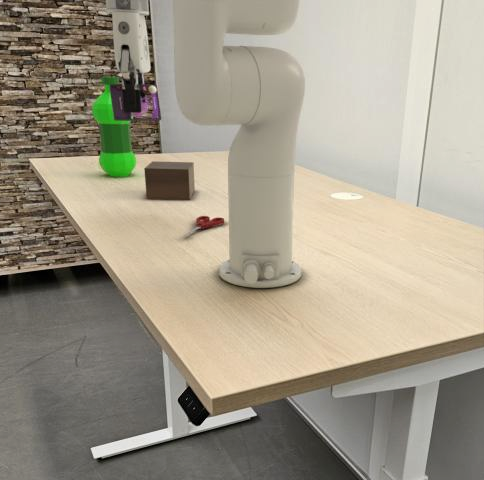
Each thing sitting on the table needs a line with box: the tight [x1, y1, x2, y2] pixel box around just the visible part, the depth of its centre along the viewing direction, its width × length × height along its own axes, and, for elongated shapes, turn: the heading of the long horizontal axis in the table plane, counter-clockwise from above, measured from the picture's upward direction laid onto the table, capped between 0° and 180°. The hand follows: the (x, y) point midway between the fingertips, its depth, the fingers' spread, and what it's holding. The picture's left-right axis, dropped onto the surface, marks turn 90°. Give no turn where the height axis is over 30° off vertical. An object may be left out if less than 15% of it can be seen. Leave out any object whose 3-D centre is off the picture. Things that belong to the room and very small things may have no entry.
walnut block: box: [143, 160, 196, 201], centre depth 137 cm, size 10×10×7 cm
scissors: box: [183, 215, 225, 237], centre depth 111 cm, size 5×14×1 cm, turn 164°
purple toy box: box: [109, 83, 162, 122], centre depth 113 cm, size 7×5×9 cm
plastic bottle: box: [91, 76, 137, 178], centre depth 154 cm, size 10×10×25 cm
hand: (135, 110), depth 113 cm, fingers closed on purple toy box, 4 cm apart
